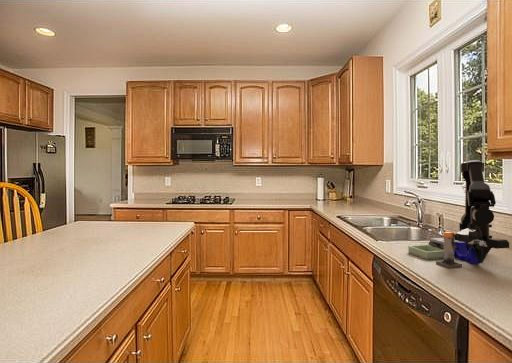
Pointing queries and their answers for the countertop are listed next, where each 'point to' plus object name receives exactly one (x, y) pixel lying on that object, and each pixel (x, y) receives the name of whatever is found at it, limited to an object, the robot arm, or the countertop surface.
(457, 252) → the cable clip
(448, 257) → the pin
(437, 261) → the pin collar
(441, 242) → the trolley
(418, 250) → the tray
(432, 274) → the countertop surface
